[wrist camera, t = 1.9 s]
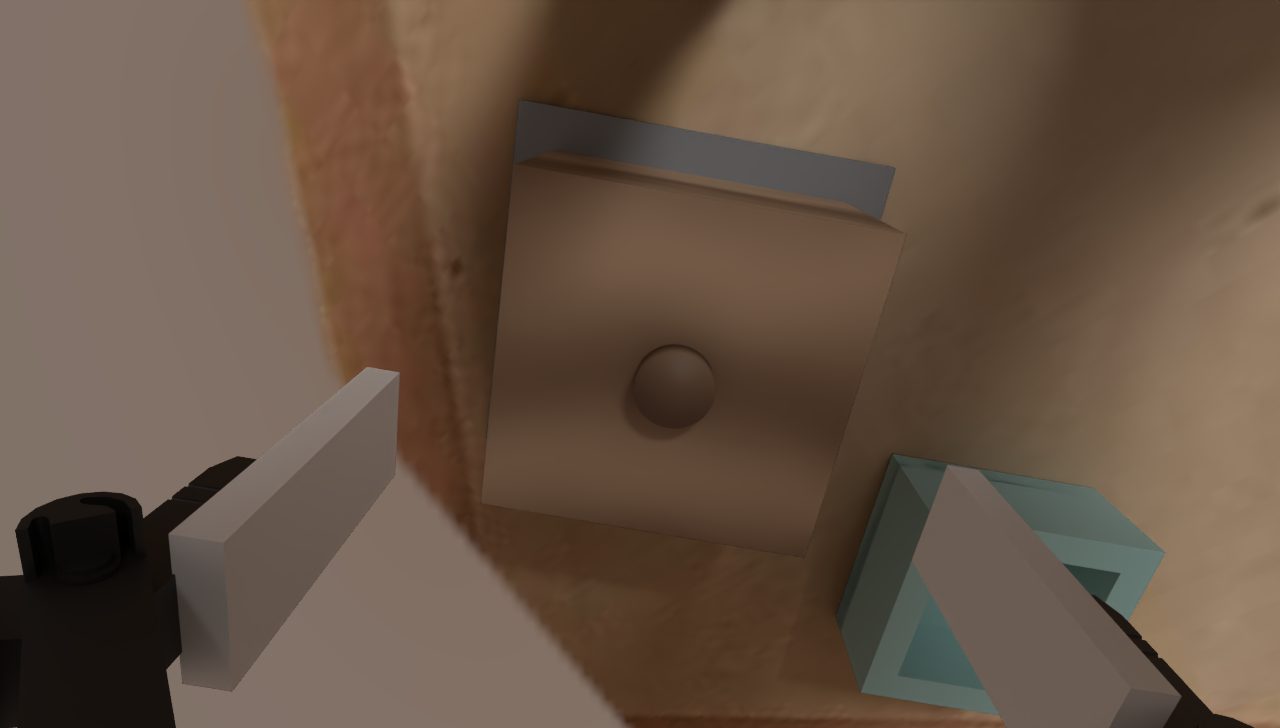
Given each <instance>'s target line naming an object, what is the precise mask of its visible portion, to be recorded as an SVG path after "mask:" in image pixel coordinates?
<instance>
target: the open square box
mask: <svg viewBox="0 0 1280 728" xmlns="http://www.w3.org/2000/svg"><path fill="white" fill-rule="evenodd" d="M947 465H951V466H957V467H962V468H968V469H974V470H979V471H980V472H981V473H982V474H983V476H984V477H985V478H986V479H987V480H988V481H989V482H990V483H991V484H992V486H993V487H994V488H995V489H996V490H997V491H998V492H999V493H1000V494H1001V496H1002V497H1003V498H1004V499H1005V500H1006V501H1007V502H1008V503H1009V505H1010V506H1011V507H1012V508H1013V509H1014V510H1015V511H1016V512H1017V513H1018V515H1019V516H1020V517H1021V518H1022V519H1023V520H1024V521H1025V522H1026V523H1027V525H1028V526H1029V527H1030V528H1031V529H1032V530H1033V531H1034V532H1035V534H1036V535H1037V536H1038V537H1039V538H1040V539H1041V540H1042V541H1043V542H1044V544H1045V545H1046V546H1047V547H1048V548H1049V549H1050V550H1051V551H1052V552H1053V554H1054V555H1055V556H1056V557H1057V558H1058V559H1059V560H1060V561H1061V562H1062V564H1063V565H1064V566H1065V567H1066V568H1067V569H1068V570H1069V571H1070V573H1071V574H1072V575H1073V576H1074V577H1075V578H1076V579H1077V580H1078V581H1079V583H1080V584H1081V585H1082V586H1083V587H1084V588H1085V589H1086V590H1087V591H1088V593H1089V594H1091V595H1096V596H1097V597H1098V598H1100V599H1101V600H1102V601H1104V602H1105V603H1106V604H1108V605H1109V606H1110V607H1112V608H1113V609H1114V610H1116V611H1117V612H1119V613H1120V614H1121V615H1123V617H1124V618H1125V619H1126V620H1127V621H1128V620H1129V618H1130V616H1131V614H1132V613H1133V611H1134V609H1135V607H1136V605H1137V604H1138V602H1139V600H1140V598H1141V596H1142V595H1143V593H1144V591H1145V589H1146V587H1147V585H1148V584H1149V582H1150V580H1151V578H1152V576H1153V575H1154V573H1155V571H1156V569H1157V567H1158V566H1159V564H1160V562H1161V560H1162V558H1163V556H1164V555H1165V553H1166V552H1164V551H1163V550H1162V549H1161V548H1160V547H1159V546H1158V545H1157V544H1155V543H1154V542H1153V541H1152V540H1151V539H1150V538H1149V537H1148V536H1146V535H1145V534H1144V533H1143V532H1142V531H1141V530H1140V529H1139V528H1138V527H1136V526H1135V525H1134V524H1133V523H1132V522H1131V521H1130V520H1129V519H1127V518H1126V517H1125V516H1124V515H1123V514H1122V513H1121V512H1120V511H1119V510H1117V509H1116V508H1115V507H1114V506H1113V505H1112V504H1111V503H1110V502H1108V501H1107V500H1106V499H1105V498H1104V497H1103V496H1102V495H1101V494H1100V493H1098V492H1097V491H1096V490H1095V489H1094V488H1088V487H1082V486H1076V485H1071V484H1065V483H1059V482H1053V481H1047V480H1042V479H1036V478H1030V477H1024V476H1018V475H1013V474H1007V473H1001V472H995V471H989V470H983V469H978V468H972V467H966V466H960V465H954V464H949V463H943V462H937V461H931V460H925V459H920V458H914V457H908V456H902V455H896V454H892V456H891V459H890V462H889V465H888V468H887V471H886V473H885V476H884V479H883V482H882V485H881V488H880V491H879V493H878V496H877V499H876V502H875V505H874V508H873V511H872V514H871V516H870V519H869V522H868V525H867V528H866V531H865V534H864V537H863V539H862V542H861V545H860V548H859V551H858V554H857V557H856V559H855V562H854V565H853V568H852V571H851V574H850V577H849V580H848V582H847V585H846V588H845V591H844V594H843V597H842V600H841V603H840V605H839V608H838V611H837V614H836V619H837V622H838V625H839V628H840V631H841V634H842V637H843V640H844V643H845V646H846V649H847V652H848V656H849V659H850V662H851V665H852V668H853V671H854V674H855V677H856V680H857V683H858V686H859V689H860V692H861V693H865V694H871V695H877V696H884V697H890V698H896V699H902V700H908V701H914V702H920V703H926V704H932V705H938V706H945V707H951V708H957V709H963V710H969V711H975V712H981V713H987V714H993V715H999V714H998V712H997V710H996V708H995V707H994V705H993V703H992V701H991V699H990V698H989V696H988V694H987V692H986V691H985V689H984V687H983V685H982V683H981V682H980V680H979V678H978V676H977V675H976V673H975V671H974V669H973V667H972V666H971V664H970V662H969V660H968V659H967V657H966V655H965V653H964V652H963V650H962V648H961V646H960V644H959V643H958V641H957V639H956V637H955V636H954V634H953V632H952V630H951V628H950V627H949V625H948V623H947V621H946V620H945V618H944V616H943V614H942V613H941V611H940V609H939V607H938V605H937V604H936V602H935V600H934V598H933V597H932V595H931V593H930V591H929V589H928V588H927V586H926V584H925V582H924V581H923V579H922V577H921V575H920V573H919V572H918V570H917V568H916V566H915V565H914V563H913V561H912V558H913V556H914V553H915V550H916V548H917V545H918V542H919V540H920V537H921V534H922V532H923V529H924V526H925V524H926V521H927V518H928V516H929V513H930V510H931V508H932V505H933V502H934V500H935V497H936V494H937V492H938V489H939V486H940V484H941V481H942V478H943V476H944V473H945V470H946V468H947ZM999 716H1000V715H999Z"/></svg>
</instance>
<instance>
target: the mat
mask: <svg viewBox="0 0 1280 728" xmlns="http://www.w3.org/2000/svg"><path fill="white" fill-rule="evenodd" d="M553 150H559V151H565V152H570V153H576V154H581V155H587V156H593V157H598V158H604V159H609V160H615V161H620V162H626V163H631V164H637V165H642V166H648V167H654V168H659V169H665V170H670V171H676V172H681V173H687V174H692V175H698V176H704V177H709V178H715V179H720V180H726V181H731V182H737V183H742V184H748V185H753V186H759V187H765V188H770V189H776V190H781V191H787V192H792V193H798V194H803V195H809V196H815V197H820V198H826V199H831V200H837V201H842V202H846V203H848V204H849V205H851V206H853V207H855V208H857V209H859V210H861V211H863V212H865V213H866V214H868V215H870V216H872V217H874V218H876V219H878V220H881V216H882V213H883V210H884V206H885V203H886V199H887V196H888V193H889V189H890V186H891V183H892V179H893V176H894V173H895V169H896V168H894V167H888V166H883V165H877V164H872V163H866V162H861V161H855V160H850V159H844V158H838V157H833V156H827V155H822V154H816V153H811V152H805V151H800V150H794V149H789V148H783V147H778V146H772V145H767V144H761V143H756V142H750V141H745V140H739V139H734V138H728V137H723V136H717V135H712V134H706V133H701V132H695V131H690V130H684V129H679V128H673V127H668V126H662V125H657V124H651V123H646V122H640V121H635V120H629V119H624V118H618V117H613V116H607V115H602V114H596V113H591V112H585V111H580V110H574V109H569V108H563V107H558V106H552V105H547V104H541V103H536V102H530V101H525V100H519V105H518V115H517V125H516V136H515V146H514V156H513V165H514V164H516V163H518V162H521V161H524V160H527V159H530V158H533V157H535V156H538V155H541V154H544V153H547V152H550V151H553ZM512 175H513V167H512ZM511 185H512V177H511ZM510 196H511V188H510ZM509 206H510V198H509ZM508 216H509V208H508ZM507 227H508V219H507ZM506 237H507V229H506ZM505 247H506V240H505ZM504 258H505V250H504ZM503 268H504V260H503ZM502 278H503V271H502ZM501 289H502V281H501ZM500 299H501V291H500ZM499 309H500V302H499ZM498 320H499V312H498ZM497 330H498V323H497ZM496 341H497V333H496ZM495 351H496V343H495ZM494 361H495V354H494ZM493 372H494V364H493ZM492 382H493V374H492ZM491 392H492V385H491ZM490 403H491V395H490ZM489 413H490V406H489ZM488 423H489V416H488ZM487 434H488V426H487ZM486 439H487V437H486Z"/></svg>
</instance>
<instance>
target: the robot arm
mask: <svg viewBox="0 0 1280 728" xmlns="http://www.w3.org/2000/svg"><path fill="white" fill-rule="evenodd" d="M399 379H400V372H394V371H388V370H382V369H376V368H370V367H366V368H365V369H364V370H363V371H362V372H360V373H359V374H358V375H357V376H356V377H354V378H353V379H352V380H351V381H350V382H349V383H347V384H346V385H345V386H344V387H343V388H341V389H340V390H339V391H338V392H337V393H335V394H334V395H333V396H332V397H331V398H330V399H329V400H327V401H326V402H325V403H324V404H322V405H321V406H320V407H319V408H318V409H316V410H315V411H314V412H313V413H312V414H311V415H309V416H308V417H307V418H306V419H305V420H303V421H302V422H301V423H300V424H299V425H297V426H296V427H295V428H294V429H293V430H291V431H290V432H289V433H288V434H287V435H286V436H284V437H283V438H282V439H281V440H280V441H278V442H277V443H276V444H275V445H274V446H273V447H271V448H270V449H269V450H268V451H266V452H265V453H264V454H263V455H262V456H261V457H259V458H258V459H251V458H245V457H239V456H237V457H235V458H232V459H230V460H227V461H225V462H222V463H220V464H218V465H215V466H213V467H210V468H208V469H207V470H206V471H204V472H203V473H202V474H201V475H199V476H198V477H197V478H195V479H194V480H193V481H191V482H190V483H189V486H188V487H184V488H182V489H181V490H180V491H179V492H177V493H176V494H175V495H173V497H172V499H171V500H167V501H165V502H164V503H163V504H162V505H160V506H159V507H158V508H156V509H155V510H154V511H152V512H151V513H150V514H149V515H147V516H146V517H145V518H143V515H142V507H141V505H140V504H139V503H138V501H137V500H136V499H135V498H132V497H130V496H127V495H125V494H122V493H112V492H94V493H82V494H77V495H73V496H69V497H64V498H61V499H57V500H54V501H52V502H50V503H47V504H45V505H42V506H40V507H38V508H36V509H34V510H33V511H32V512H30V513H29V514H28V515H26V516H25V517H24V518H22V519H21V521H20V523H19V524H18V526H17V528H16V530H15V532H16V537H17V543H18V548H19V553H20V559H21V564H22V569H23V575H17V576H0V728H14V727H17V728H176V726H175V720H174V714H173V708H172V702H171V696H170V690H169V684H168V678H167V672H166V669H167V668H168V667H169V666H170V665H171V664H172V663H173V661H174V660H175V659H176V658H177V657H178V656H179V655H180V663H181V674H182V684H187V685H193V686H200V687H206V688H213V689H220V690H226V691H233V690H234V689H235V687H236V686H237V685H238V683H239V682H240V681H241V679H242V678H243V677H244V675H245V674H246V673H247V671H248V670H249V669H250V667H251V666H252V665H253V663H254V662H255V661H256V659H257V658H258V657H259V655H260V654H261V653H262V651H263V650H264V649H265V647H266V646H267V645H268V643H269V642H270V641H271V639H272V638H273V637H274V635H275V634H276V633H277V631H278V630H279V629H280V627H281V626H282V625H283V623H284V622H285V621H286V619H287V618H288V617H289V615H290V614H291V612H292V611H293V610H294V609H295V607H296V606H297V605H298V603H299V602H300V601H301V599H302V598H303V596H304V595H305V594H306V593H307V591H308V590H309V589H310V587H311V586H312V585H313V583H314V582H315V581H316V579H317V578H318V577H319V575H320V574H321V573H322V571H323V570H324V569H325V567H326V566H327V565H328V563H329V562H330V561H331V559H332V558H333V557H334V555H335V554H336V553H337V551H338V550H339V549H340V547H341V546H342V545H343V543H344V542H345V541H346V539H347V538H348V537H349V536H350V534H351V533H352V532H353V530H354V529H355V527H356V526H357V525H358V524H359V522H360V521H361V519H362V518H363V517H364V516H365V514H366V513H367V512H368V510H369V509H370V507H371V506H372V505H373V504H374V502H375V501H376V499H377V498H378V497H379V495H380V494H381V493H382V491H383V490H384V489H385V488H386V486H387V485H388V483H389V482H390V481H391V479H392V478H393V477H394V475H395V465H396V443H397V422H398V400H399ZM912 561H913V563H914V565H915V566H916V568H917V570H918V572H919V573H920V575H921V577H922V579H923V581H924V582H925V584H926V586H927V588H928V589H929V591H930V593H931V595H932V597H933V598H934V600H935V602H936V604H937V605H938V607H939V609H940V611H941V613H942V614H943V616H944V618H945V620H946V621H947V623H948V625H949V627H950V628H951V630H952V632H953V634H954V636H955V637H956V639H957V641H958V643H959V644H960V646H961V648H962V650H963V652H964V653H965V655H966V657H967V659H968V660H969V662H970V664H971V666H972V667H973V669H974V671H975V673H976V675H977V676H978V678H979V680H980V682H981V683H982V685H983V687H984V689H985V691H986V692H987V694H988V696H989V698H990V699H991V701H992V703H993V705H994V707H995V708H996V710H997V712H998V714H999V715H1000V717H1001V719H1002V721H1003V722H1004V724H1005V726H1006V728H1254V727H1252V726H1250V725H1247V724H1245V723H1243V722H1240V721H1238V720H1236V719H1234V718H1230V717H1226V716H1222V715H1218V714H1213V713H1212V712H1211V711H1210V710H1209V709H1208V707H1207V706H1206V705H1205V704H1204V703H1203V702H1202V701H1201V700H1200V699H1199V698H1198V697H1197V696H1196V694H1195V693H1194V692H1193V691H1192V690H1191V689H1190V688H1189V687H1188V686H1187V685H1186V684H1185V683H1184V681H1183V680H1182V679H1181V678H1180V677H1179V676H1178V675H1177V674H1176V673H1175V672H1174V671H1173V670H1172V668H1171V667H1170V666H1169V665H1168V664H1167V663H1166V662H1165V661H1164V660H1163V659H1162V658H1158V653H1157V652H1156V651H1155V650H1154V649H1153V648H1152V647H1151V646H1150V645H1149V644H1148V643H1147V641H1145V640H1142V636H1141V635H1140V634H1139V633H1138V632H1137V631H1136V630H1135V628H1134V627H1133V626H1132V625H1131V624H1130V623H1129V622H1128V621H1127V620H1126V619H1125V618H1124V617H1123V615H1121V614H1120V613H1119V612H1117V611H1116V610H1114V609H1113V608H1112V607H1110V606H1109V605H1108V604H1106V603H1105V602H1104V601H1102V600H1101V599H1100V598H1098V597H1097V596H1096V595H1091V594H1089V593H1088V591H1087V590H1086V589H1085V588H1084V587H1083V586H1082V585H1081V584H1080V583H1079V581H1078V580H1077V579H1076V578H1075V577H1074V576H1073V575H1072V574H1071V573H1070V571H1069V570H1068V569H1067V568H1066V567H1065V566H1064V565H1063V564H1062V562H1061V561H1060V560H1059V559H1058V558H1057V557H1056V556H1055V555H1054V554H1053V552H1052V551H1051V550H1050V549H1049V548H1048V547H1047V546H1046V545H1045V544H1044V542H1043V541H1042V540H1041V539H1040V538H1039V537H1038V536H1037V535H1036V534H1035V532H1034V531H1033V530H1032V529H1031V528H1030V527H1029V526H1028V525H1027V523H1026V522H1025V521H1024V520H1023V519H1022V518H1021V517H1020V516H1019V515H1018V513H1017V512H1016V511H1015V510H1014V509H1013V508H1012V507H1011V506H1010V505H1009V503H1008V502H1007V501H1006V500H1005V499H1004V498H1003V497H1002V496H1001V494H1000V493H999V492H998V491H997V490H996V489H995V488H994V487H993V486H992V484H991V483H990V482H989V481H988V480H987V479H986V478H985V477H984V476H983V474H982V473H981V472H980V471H979V470H974V469H968V468H962V467H957V466H951V465H947V468H946V470H945V473H944V476H943V478H942V481H941V484H940V486H939V489H938V492H937V494H936V497H935V500H934V502H933V505H932V508H931V510H930V513H929V516H928V518H927V521H926V524H925V526H924V529H923V532H922V534H921V537H920V540H919V542H918V545H917V548H916V550H915V553H914V556H913V558H912Z"/></svg>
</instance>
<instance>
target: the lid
mask: <svg viewBox="0 0 1280 728" xmlns="http://www.w3.org/2000/svg"><path fill="white" fill-rule="evenodd" d="M905 238H906V234H904V233H902V232H900V231H899V230H897V229H895V228H893V227H891V226H889V225H887V224H885V223H883V222H882V221H880V220H878V219H876V218H874V217H872V216H870V215H868V214H866V213H865V212H863V211H861V210H859V209H857V208H855V207H853V206H851V205H849V204H848V203H846V202H842V201H837V200H831V199H826V198H820V197H815V196H809V195H803V194H798V193H792V192H787V191H781V190H776V189H770V188H765V187H759V186H753V185H748V184H742V183H737V182H731V181H726V180H720V179H715V178H709V177H704V176H698V175H692V174H687V173H681V172H676V171H670V170H665V169H659V168H654V167H648V166H642V165H637V164H631V163H626V162H620V161H615V160H609V159H604V158H598V157H593V156H587V155H581V154H576V153H570V152H565V151H559V150H553V151H550V152H547V153H544V154H541V155H538V156H535V157H533V158H530V159H527V160H524V161H521V162H518V163H516V164H514V165H513V175H512V185H511V196H510V206H509V216H508V227H507V237H506V247H505V258H504V268H503V278H502V289H501V299H500V309H499V320H498V330H497V341H496V351H495V361H494V372H493V382H492V392H491V403H490V413H489V423H488V434H487V444H486V454H485V465H484V475H483V485H482V496H481V504H486V505H492V506H498V507H504V508H510V509H516V510H522V511H528V512H534V513H540V514H546V515H552V516H558V517H564V518H570V519H576V520H581V521H587V522H593V523H599V524H605V525H611V526H617V527H623V528H629V529H635V530H641V531H647V532H653V533H659V534H665V535H671V536H677V537H683V538H688V539H694V540H700V541H706V542H712V543H718V544H724V545H730V546H736V547H742V548H748V549H754V550H760V551H766V552H772V553H778V554H784V555H790V556H795V557H801V558H805V556H806V553H807V549H808V546H809V543H810V540H811V537H812V534H813V530H814V527H815V524H816V521H817V518H818V514H819V511H820V508H821V505H822V502H823V499H824V495H825V492H826V489H827V486H828V483H829V480H830V476H831V473H832V470H833V467H834V464H835V460H836V457H837V454H838V451H839V448H840V445H841V441H842V438H843V435H844V432H845V429H846V425H847V422H848V419H849V416H850V413H851V410H852V406H853V403H854V400H855V397H856V394H857V391H858V387H859V384H860V381H861V378H862V375H863V371H864V368H865V365H866V362H867V359H868V356H869V352H870V349H871V346H872V343H873V340H874V336H875V333H876V330H877V327H878V324H879V321H880V317H881V314H882V311H883V308H884V305H885V302H886V298H887V295H888V292H889V289H890V286H891V282H892V279H893V276H894V273H895V270H896V267H897V263H898V260H899V257H900V254H901V251H902V247H903V244H904V241H905Z"/></svg>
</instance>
